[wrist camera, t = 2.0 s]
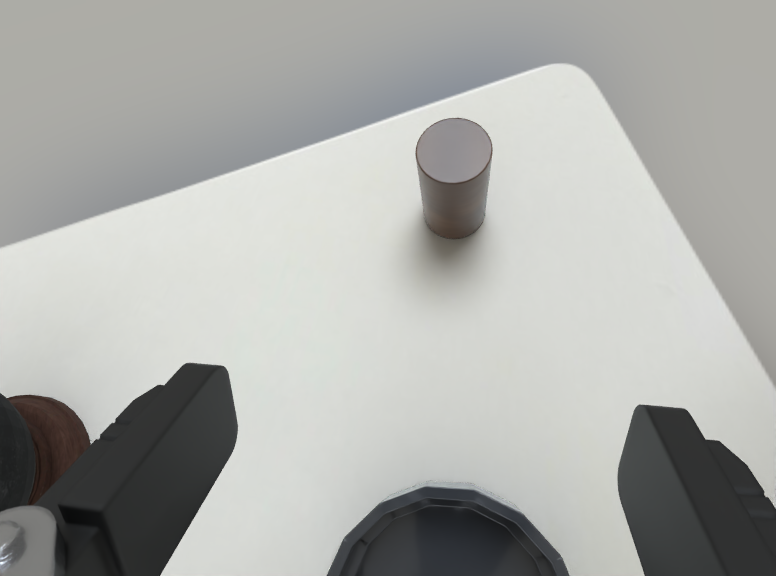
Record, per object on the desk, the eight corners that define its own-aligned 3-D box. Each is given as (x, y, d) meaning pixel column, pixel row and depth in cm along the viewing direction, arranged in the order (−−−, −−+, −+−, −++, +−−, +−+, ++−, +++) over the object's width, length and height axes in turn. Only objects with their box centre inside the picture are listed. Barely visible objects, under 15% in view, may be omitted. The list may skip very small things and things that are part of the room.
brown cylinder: (484, 183, 36) (492, 115, 28) (485, 239, 35) (492, 183, 27) (425, 185, 37) (416, 118, 29) (423, 239, 35) (414, 185, 28)
